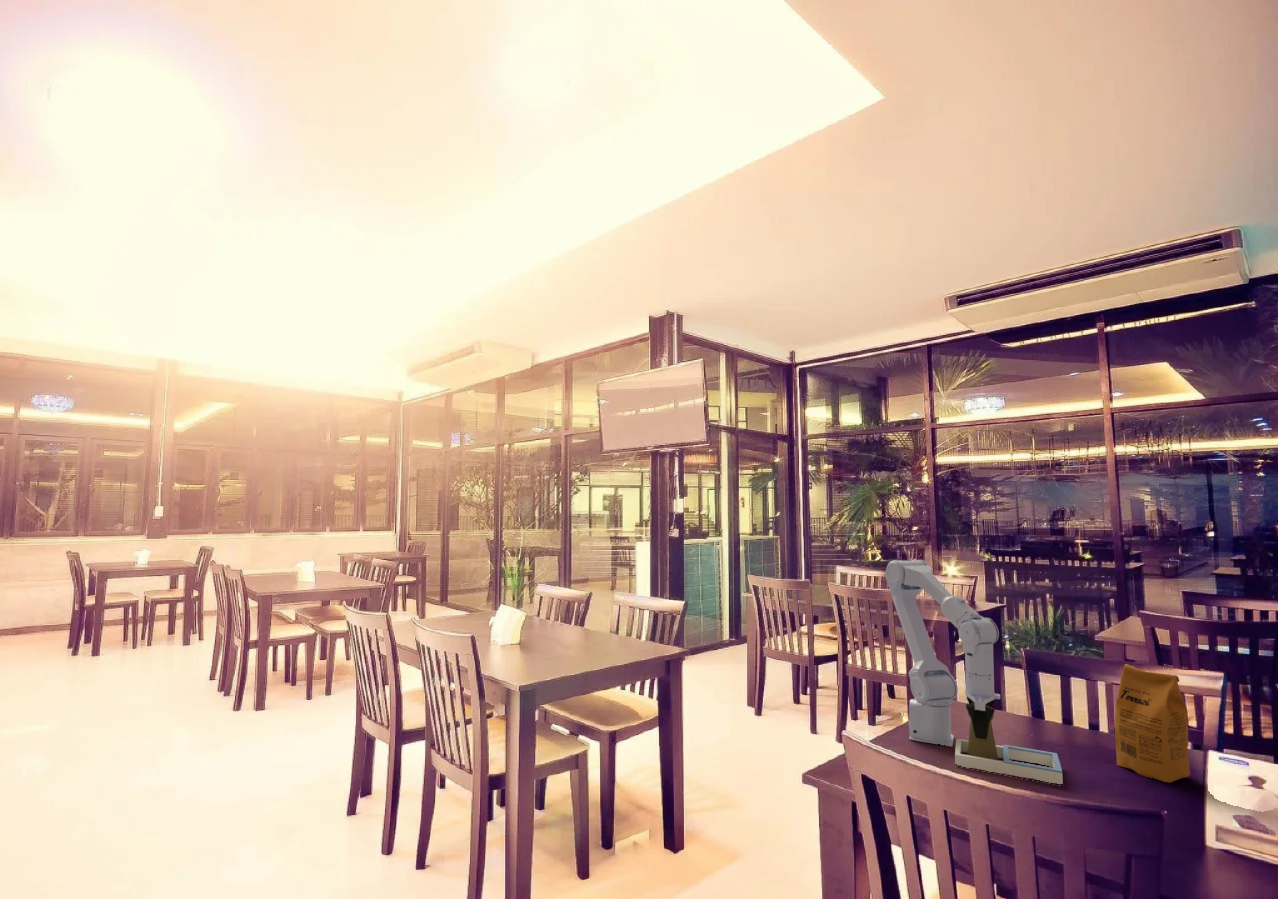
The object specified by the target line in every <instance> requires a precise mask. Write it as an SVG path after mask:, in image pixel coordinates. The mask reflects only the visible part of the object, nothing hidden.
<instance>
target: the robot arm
mask: <svg viewBox="0 0 1278 899" xmlns="http://www.w3.org/2000/svg"><path fill="white" fill-rule="evenodd" d="M884 576H885V580H886V582H887V585H888V586H887V587H888V589H889V592H890V594H891V598H892V602H893V605H894V607H895V610H896V613H897V616H898V619H899V621H900V625H901V628H902V631H903V634H904V636H905V640H906V642H907V645H908V648H909V651H910V654H911V657H912V659H913V662H914V664H913V666H912V667H911V669H910V670H909V671H908V677H909V681H910V691H911V694H912V695H913V697H914V698H911V699H909V706H908V709H909V710H908V712H909V714H908V719H909V720H908V730H909V740H911V741H914V742H915V741H916V742H921V743H928V744H934V745H938V744H940V746H944V745H945V746H944V747H951V748H952V747H953V746H954V745H953V744H954V739H955V738H954V737H955V735H954V734H952V717H951V716H952V715H951V714H952V712H951V704H953V703H954V702H953V700H954V699H956V698H957V696H958V693H959V692H958V690H959V687H958V683H957V681H956V680H955V678H954V676H953V675H952V674H951V673H950V670H949V667H948V666H947V665H945V664H944V663H943V662H941V661H940V660H939V659H938V658H937V655H936V652H935V650H934V648H933V645H932V643H931V639H930V636H929V634H928V631H927V628H926V625H925V623H924V619H923V617H922V614H921V611H920V609H919V606H918V604H917V601H916V599H917V596H918V595H920V594H921V592H922V591H924V592H925V593H926V594H928V595H929V597H931V598H933V600H935V601H936V602H937V603H938V604H939V605H940V612H941V613H942V615H943V616H945V618H946V619H948V621H949V622H950V623H951V624H952V625H953V626H954V627H955V628H956V629H957V632H958V636H959V638H960V640H961V643H962V649H963V652H965V653H964V663H965V667H964V668H965V673H964V674H965V690H964V695H965V696H966V700H967V702H968V703H965V707H966V711H967V713H968V712H969V714H970V717H971V718H970V717H969V718H970V721H971V720H972V724H973V729H974V733H975V737H976V738H979V739H985V740H986V738H987V735H988V728H989V723H990V720H991V717H992V716H993V714H994V715H995V712H996V711H995V708H992V707H993V705H994V704H995V700H1000V699H1001V694H999V693H995V673H994V672H995V671H994V670H995V669H994V644H995V643H997V641H998V640H999V636H1000V632H999V631H1000V630H999V628H998V626H997V624H996V623H995V622H994V620H993V619H992V618H990V617H983V615H980V614H979V612H978V611H975V610H974V609H973V608H972V607H971V606H970V605H969V603H967V601H966V599H965V597H962V596H958V595H952V594H951V592H949V591H948V589H947V588H946V587H945V586H944V585H943V583H941V582H940V580H938V578H937V577H936V576H935V575H934V572H933V568H932V567H931V566H930V565H929V564H928V563H927V562H926V561H925V560H923V559H917V560H896V559H895V560H891V561H889V562H887V566H886V569H885V571H884ZM973 703H975V704H973ZM985 705H988V706H990V707H991V708H986V706H985ZM969 714H968V715H969Z"/></svg>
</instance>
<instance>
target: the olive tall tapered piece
mask: <svg viewBox="0 0 1278 899" xmlns="http://www.w3.org/2000/svg"><path fill="white" fill-rule="evenodd" d="M973 704H975V703H973ZM985 706H986V708H991V707H990V706H988V705H985ZM967 713H968V717H969V718H970V722H969V724H970V725H969V733H968V734H969V735H968V740H969V742H968V753H967V755H970V756H976V757H982V758H987V759H993V760H998V759H999V758H998V756H997V750H996V745H997V744H996V740H995V739H996V738H995V735H994V730H993V724H992V720H994V715H995V713H994V714H993V716H992V717H991V720H990V723H989V728H988V735H987V738H986V740H985V739H979V738H976V737H975V733H974V729H973V724H972V720H971V717H970V714H969V712H968V711H967Z"/></svg>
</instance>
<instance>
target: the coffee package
mask: <svg viewBox="0 0 1278 899" xmlns="http://www.w3.org/2000/svg"><path fill="white" fill-rule="evenodd" d="M1122 668H1123V669H1122V673H1121V676H1120V682H1119V688H1118V690H1117V691H1118V693H1117V698H1116V700H1115V720H1114V721H1115V724H1114V740H1115V752H1116V765H1117V766H1118V767H1121V768H1126V769H1131V770H1132V771H1133V772H1135V773H1136V774H1138V775H1139V776H1142V775H1143V777H1146V778H1148V777H1149V778H1148V779H1152V778H1154V779H1153V780H1156V779H1157V780H1156V781H1161V782H1163V783H1169V784H1170V783H1173V782H1175V781H1178V780H1180V779H1184V778H1188V777H1189V776H1191V772H1190V771H1191V770H1190V758H1189V752H1188V750H1189V749H1188V746H1189V730H1188V729H1189V727H1188V726H1189V725H1188V717H1189V716H1188V707H1187V706H1186V703H1185V700H1184V697H1183V694H1182V692H1181V689H1180V687H1179V683H1178V682H1180V678H1179V677H1178V675H1177V674H1170V673H1169V674H1168V673H1160V672H1159V673H1158V672H1152V671H1145V670H1143V669H1140V668H1138V667H1135V666H1133V665H1130V664H1129V663H1126V664H1124V665H1123V667H1122Z"/></svg>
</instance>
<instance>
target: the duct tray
mask: <svg viewBox="0 0 1278 899" xmlns="http://www.w3.org/2000/svg"><path fill="white" fill-rule="evenodd" d="M955 742H956V743H955V750H954V751H955V752H954V765H955V764H957V765H961V766H962V767H961V768H963V767H966V768H965V769H969V768H977V769H981V770H986V771H989V772H988V773H990V772H996V773H1006V774H1010V775H1015V776H1019V777H1026V778H1034V779H1036V780H1040V781H1045V782H1049V783H1048V784H1050V783H1057V784H1063V785H1064V783H1063V782H1064V781H1063V769H1062V766H1061V762H1060V759H1059V756H1058V753H1057V752H1052V751H1051V752H1050V751H1045V750H1039V749H1033V748H1029V747H1028V748H1027V747H1021V746H1016V745H1015V746H1014V745H1008V744H1004V743H1002V745H997V744H995V745H996V750H997V756H998V758H997V759H995V760H993V759H987V758H982V757H976V756H970V755H969V754H968V742H969V739H968V740H967V739H962V738H956V741H955ZM963 753H967V754H963ZM1001 758H1003V759H1002V760H998V759H1001ZM1009 758H1010V759H1015V760H1020V761H1026V762H1030V763H1038V764H1041V765H1046V766H1041V765H1035V764H1030V763H1024V762H1018V761H1012V760H1009ZM1047 766H1049V767H1047ZM996 773H995V774H996ZM1045 782H1044V783H1045Z"/></svg>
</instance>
